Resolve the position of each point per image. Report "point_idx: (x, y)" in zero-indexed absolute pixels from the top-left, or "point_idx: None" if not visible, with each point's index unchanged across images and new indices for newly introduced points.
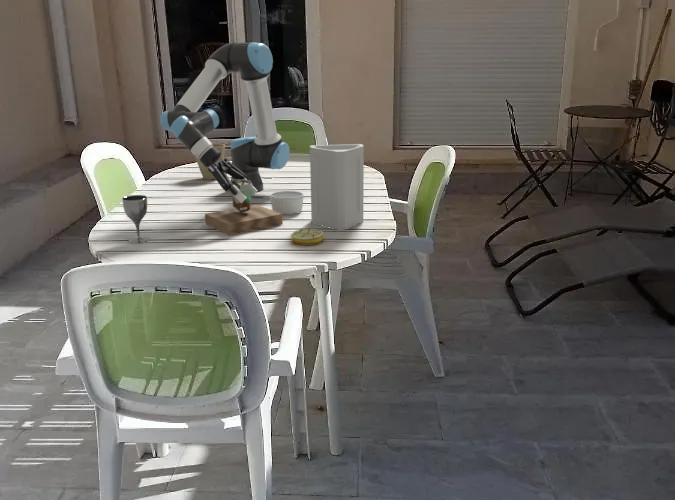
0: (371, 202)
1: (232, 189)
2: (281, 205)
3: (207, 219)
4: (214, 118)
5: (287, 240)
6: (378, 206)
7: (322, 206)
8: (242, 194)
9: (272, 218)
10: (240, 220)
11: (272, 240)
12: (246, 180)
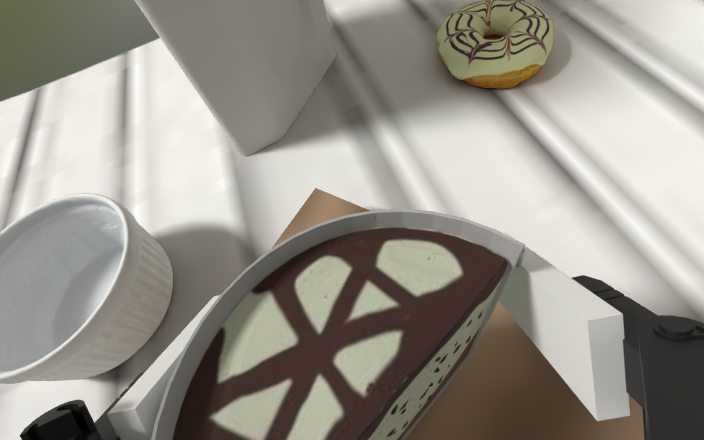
0: (20, 115)
1: (642, 315)
2: (151, 276)
3: None
4: None
5: (517, 102)
6: (70, 85)
7: (274, 41)
8: (525, 247)
9: None
10: None
11: (552, 139)
12: (186, 360)
